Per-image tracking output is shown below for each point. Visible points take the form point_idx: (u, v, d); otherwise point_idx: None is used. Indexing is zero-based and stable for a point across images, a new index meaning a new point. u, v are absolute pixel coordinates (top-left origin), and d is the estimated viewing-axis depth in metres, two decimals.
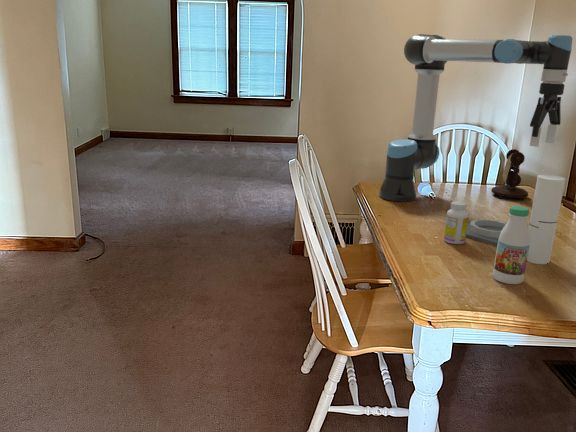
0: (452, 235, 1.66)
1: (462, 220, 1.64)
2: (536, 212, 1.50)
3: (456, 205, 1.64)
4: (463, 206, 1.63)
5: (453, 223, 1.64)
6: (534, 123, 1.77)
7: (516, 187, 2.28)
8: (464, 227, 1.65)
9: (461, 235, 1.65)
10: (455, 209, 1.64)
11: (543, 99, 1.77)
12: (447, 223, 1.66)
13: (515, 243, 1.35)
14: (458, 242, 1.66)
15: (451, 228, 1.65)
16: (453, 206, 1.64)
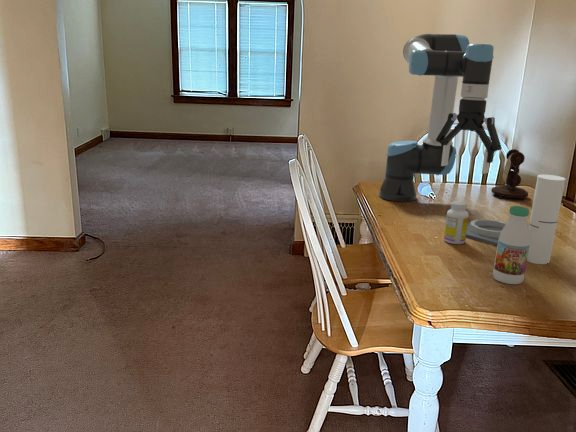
0: (452, 235, 1.66)
1: (462, 220, 1.64)
2: (536, 212, 1.50)
3: (456, 205, 1.64)
4: (463, 206, 1.63)
5: (453, 223, 1.64)
6: None
7: (516, 187, 2.28)
8: (464, 227, 1.65)
9: (461, 235, 1.65)
10: (455, 209, 1.64)
11: None
12: (447, 223, 1.66)
13: (515, 243, 1.35)
14: (458, 242, 1.66)
15: (451, 228, 1.65)
16: (453, 206, 1.64)
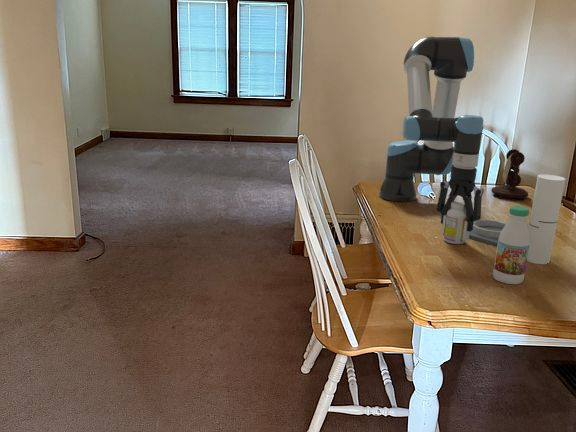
0: (452, 235, 1.66)
1: (462, 220, 1.64)
2: (536, 212, 1.50)
3: (456, 205, 1.64)
4: (463, 206, 1.63)
5: (453, 222, 1.64)
6: None
7: (516, 187, 2.28)
8: None
9: (461, 234, 1.65)
10: (455, 209, 1.64)
11: None
12: (447, 223, 1.66)
13: (515, 243, 1.35)
14: (458, 242, 1.66)
15: (451, 228, 1.65)
16: (453, 206, 1.64)
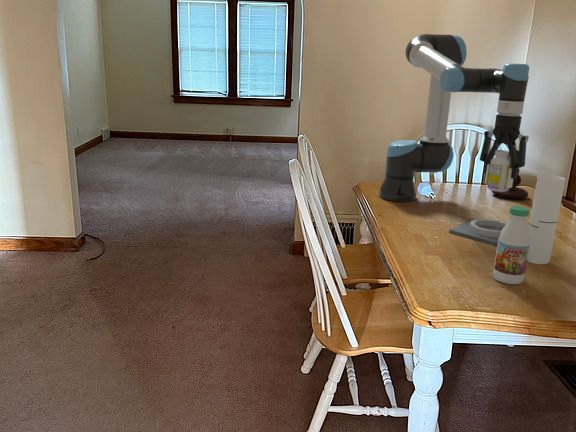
0: (496, 182, 1.69)
1: (507, 167, 1.67)
2: (536, 212, 1.50)
3: (500, 153, 1.67)
4: (507, 153, 1.67)
5: (498, 170, 1.68)
6: None
7: (516, 187, 2.28)
8: None
9: (504, 182, 1.69)
10: (499, 157, 1.68)
11: None
12: (491, 171, 1.70)
13: (515, 243, 1.35)
14: (502, 189, 1.70)
15: (495, 175, 1.69)
16: (497, 154, 1.68)
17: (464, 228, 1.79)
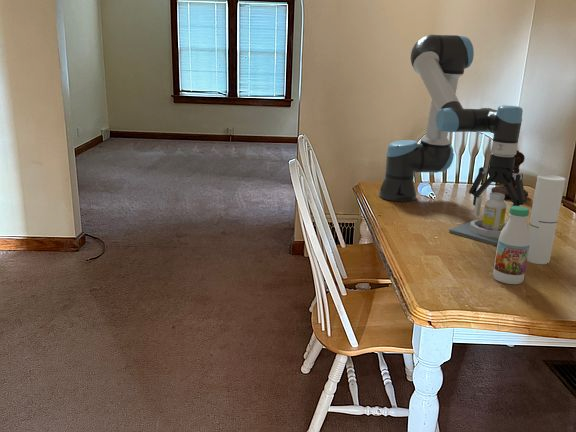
0: (490, 224, 1.74)
1: (501, 210, 1.72)
2: (536, 212, 1.50)
3: (495, 196, 1.72)
4: (502, 197, 1.72)
5: (492, 213, 1.72)
6: None
7: None
8: (502, 217, 1.73)
9: (499, 224, 1.73)
10: (494, 200, 1.72)
11: None
12: (485, 213, 1.75)
13: (515, 243, 1.35)
14: None
15: (490, 218, 1.73)
16: (492, 197, 1.73)
17: (464, 228, 1.79)
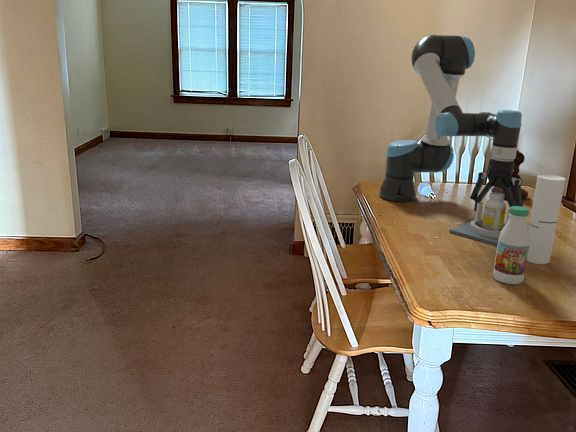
0: (490, 225, 1.74)
1: (501, 210, 1.72)
2: (536, 212, 1.50)
3: (495, 196, 1.72)
4: (501, 197, 1.71)
5: (492, 213, 1.72)
6: None
7: None
8: (502, 218, 1.73)
9: (498, 224, 1.73)
10: (493, 200, 1.72)
11: None
12: (485, 213, 1.75)
13: (515, 243, 1.35)
14: None
15: (490, 218, 1.73)
16: (491, 197, 1.73)
17: (464, 228, 1.79)
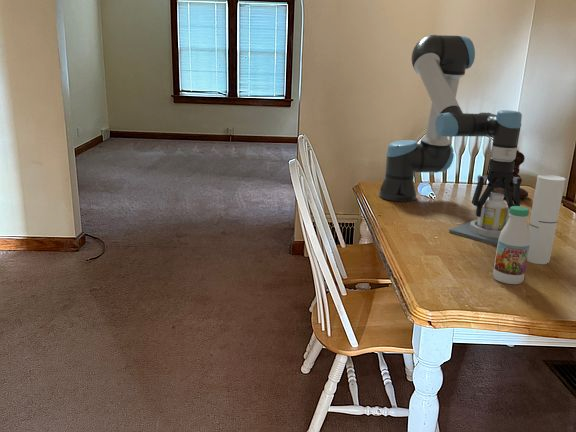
0: (489, 224, 1.74)
1: (500, 210, 1.72)
2: (536, 212, 1.50)
3: (494, 196, 1.72)
4: (501, 197, 1.72)
5: (491, 213, 1.73)
6: (473, 203, 1.74)
7: None
8: (502, 217, 1.73)
9: (498, 224, 1.73)
10: (493, 200, 1.72)
11: (479, 178, 1.72)
12: (485, 213, 1.75)
13: (515, 243, 1.35)
14: None
15: (489, 218, 1.73)
16: (491, 197, 1.73)
17: (464, 228, 1.79)
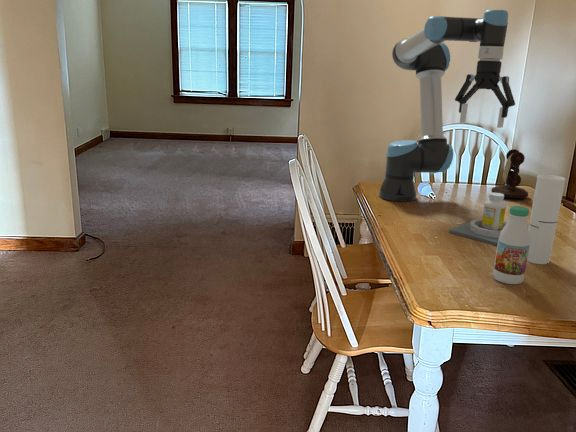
0: (489, 224, 1.74)
1: (500, 210, 1.72)
2: (536, 212, 1.50)
3: (494, 196, 1.72)
4: (501, 197, 1.72)
5: (491, 213, 1.73)
6: None
7: (516, 187, 2.28)
8: (502, 217, 1.73)
9: (498, 224, 1.73)
10: (493, 200, 1.72)
11: None
12: (485, 213, 1.75)
13: (515, 243, 1.35)
14: None
15: (489, 218, 1.73)
16: (491, 197, 1.73)
17: (464, 228, 1.79)
